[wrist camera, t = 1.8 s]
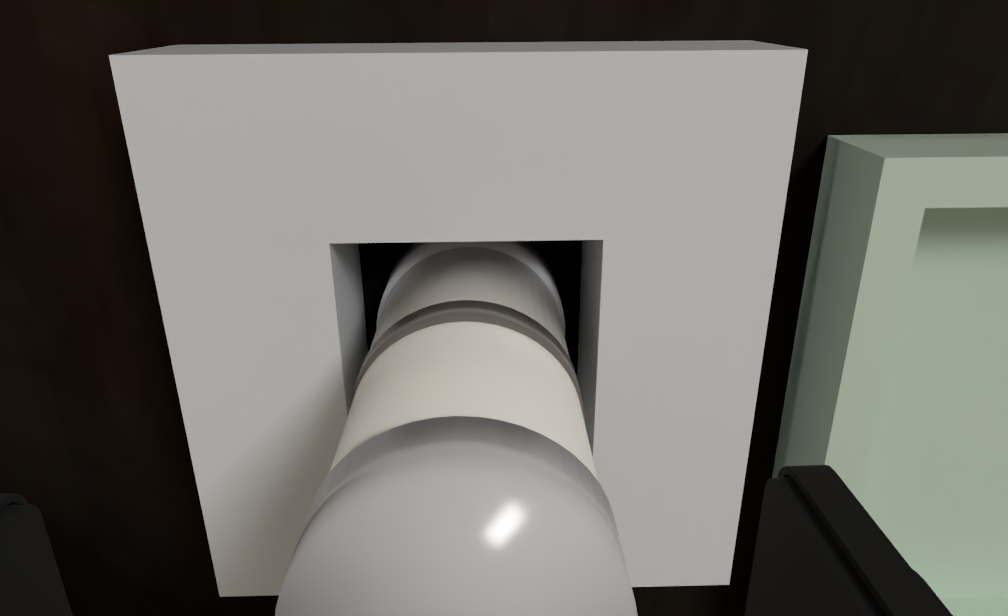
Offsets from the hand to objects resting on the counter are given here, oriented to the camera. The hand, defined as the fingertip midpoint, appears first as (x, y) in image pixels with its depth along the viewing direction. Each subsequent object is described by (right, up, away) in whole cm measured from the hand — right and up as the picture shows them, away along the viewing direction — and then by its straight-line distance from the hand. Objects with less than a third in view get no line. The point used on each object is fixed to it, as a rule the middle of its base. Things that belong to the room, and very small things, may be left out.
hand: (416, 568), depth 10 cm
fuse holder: (0, +3, +8) cm, 9 cm away
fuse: (0, +3, +8) cm, 9 cm away
